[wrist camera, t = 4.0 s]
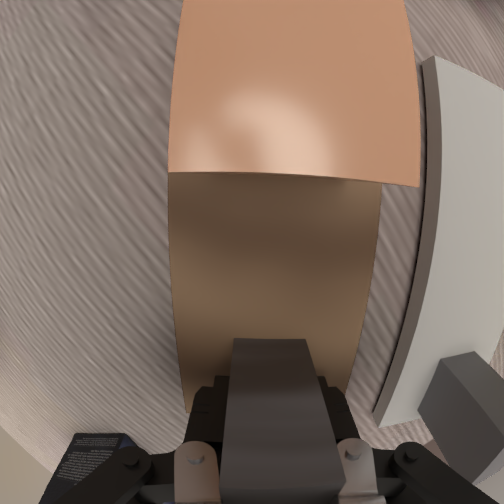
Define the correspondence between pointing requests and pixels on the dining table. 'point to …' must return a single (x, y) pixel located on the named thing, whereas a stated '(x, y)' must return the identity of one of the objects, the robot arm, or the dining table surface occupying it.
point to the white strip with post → (456, 279)
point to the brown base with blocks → (271, 318)
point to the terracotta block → (296, 90)
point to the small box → (83, 461)
